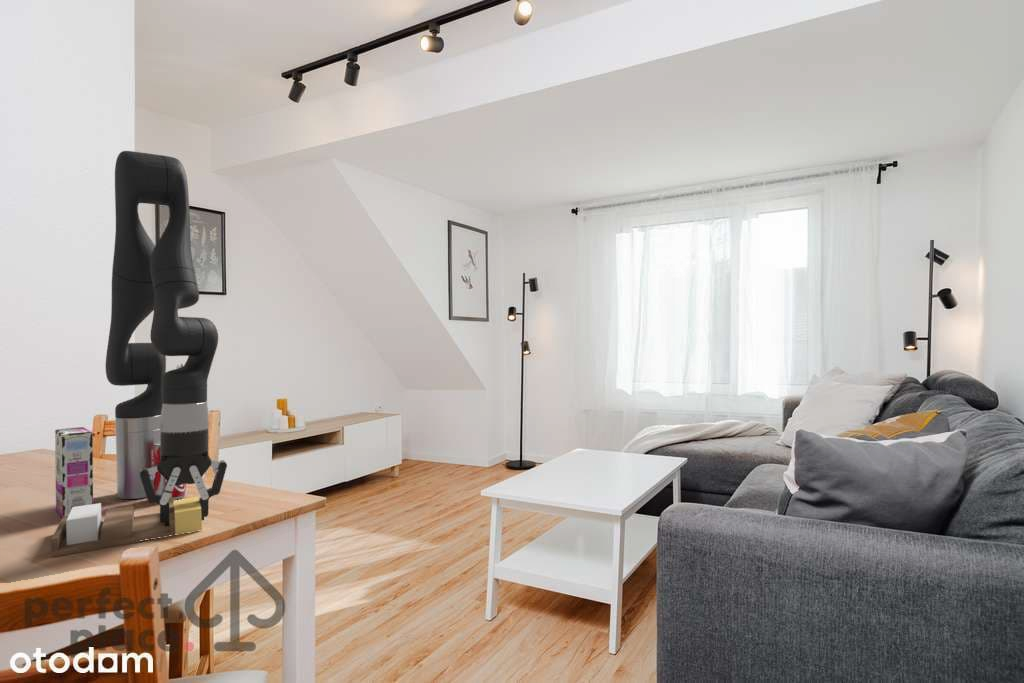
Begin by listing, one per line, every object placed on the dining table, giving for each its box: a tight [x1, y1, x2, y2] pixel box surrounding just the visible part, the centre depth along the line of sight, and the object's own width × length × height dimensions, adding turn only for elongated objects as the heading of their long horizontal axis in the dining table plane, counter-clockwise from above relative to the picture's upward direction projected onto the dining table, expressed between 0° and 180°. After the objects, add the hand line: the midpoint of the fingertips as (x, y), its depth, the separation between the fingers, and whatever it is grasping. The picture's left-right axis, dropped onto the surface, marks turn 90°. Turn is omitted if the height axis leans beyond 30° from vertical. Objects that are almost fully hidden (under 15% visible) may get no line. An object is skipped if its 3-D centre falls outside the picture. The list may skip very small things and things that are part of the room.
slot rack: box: [50, 500, 175, 558], centre depth 99 cm, size 14×17×3 cm
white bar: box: [66, 502, 103, 545], centre depth 96 cm, size 9×4×4 cm, turn 33°
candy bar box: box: [54, 426, 94, 520], centre depth 111 cm, size 11×5×16 cm, turn 45°
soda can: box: [151, 442, 188, 501], centre depth 121 cm, size 6×6×12 cm
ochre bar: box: [173, 496, 203, 534], centre depth 102 cm, size 9×4×4 cm, turn 32°
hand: (184, 521), depth 102 cm, fingers open, 4 cm apart
